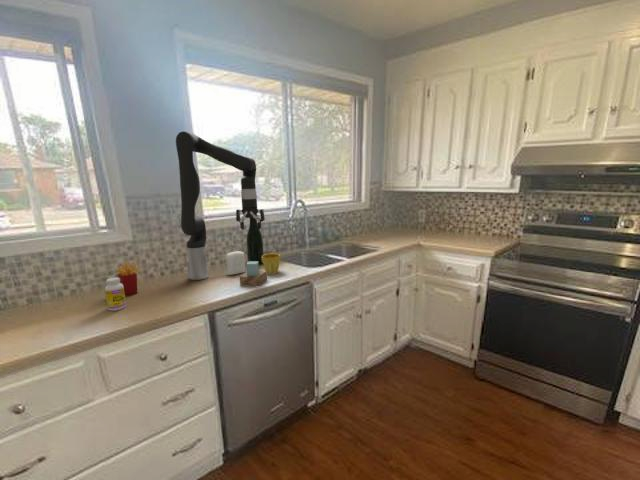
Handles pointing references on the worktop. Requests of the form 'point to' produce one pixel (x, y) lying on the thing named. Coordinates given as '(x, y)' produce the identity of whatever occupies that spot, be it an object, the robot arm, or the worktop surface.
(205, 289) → the worktop surface
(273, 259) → the plant pot
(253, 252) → the beer bottle
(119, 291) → the supplement bottle
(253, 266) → the teal block
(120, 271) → the french fries
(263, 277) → the walnut block
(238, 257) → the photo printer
